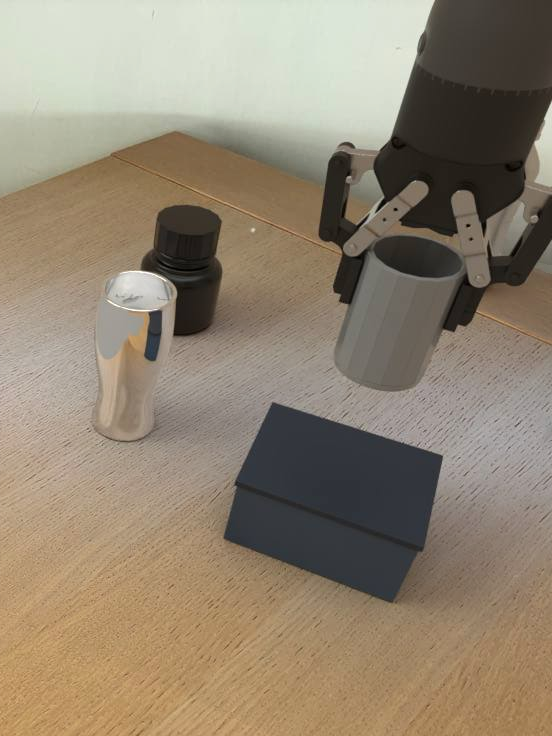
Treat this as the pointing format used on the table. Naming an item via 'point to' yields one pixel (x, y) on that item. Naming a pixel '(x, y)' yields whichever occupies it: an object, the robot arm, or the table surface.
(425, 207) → the robot arm
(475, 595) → the table surface
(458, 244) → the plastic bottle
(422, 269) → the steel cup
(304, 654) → the table surface
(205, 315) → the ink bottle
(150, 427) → the beer glass
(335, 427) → the storage box
